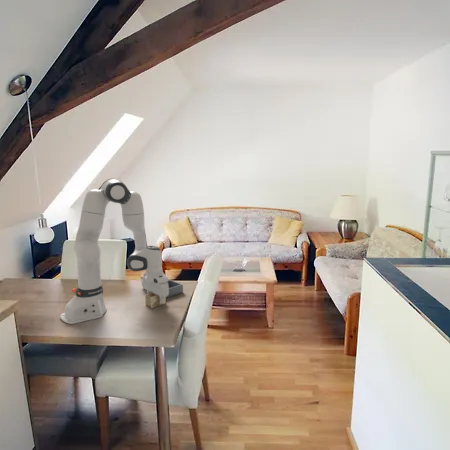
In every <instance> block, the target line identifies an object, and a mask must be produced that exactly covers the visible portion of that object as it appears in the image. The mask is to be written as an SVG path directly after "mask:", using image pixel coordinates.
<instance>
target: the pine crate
mask: <svg viewBox="0 0 450 450" xmlns="http://www.w3.org/2000/svg"><path fill="white" fill-rule="evenodd" d="M144 298H145V299H144V301H145V306H146V307H149V308H151V309H153V308H157V307H160V306H162V305H166V304H167V301H166V300H167V298H166V297H164V298H163V303H159V301H158V300H159V299H160V297H159V296H158V295H156V294H154V293H146V294H144Z"/></svg>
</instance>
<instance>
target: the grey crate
mask: <svg viewBox="0 0 450 450" xmlns="http://www.w3.org/2000/svg"><path fill="white" fill-rule="evenodd" d="M167 282H168V285H169V295H168V296H166V299H169V298H172V297H174V296H178V295H181V294H183V293H184V285H183V284H182V283H180V282H177V281H175V280H172V279H168V281H167ZM151 293H152V292H151Z"/></svg>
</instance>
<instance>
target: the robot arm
mask: <svg viewBox="0 0 450 450" xmlns="http://www.w3.org/2000/svg"><path fill="white" fill-rule="evenodd" d="M109 202H112V203H115V204H119V205H120V206H121V215H122V217H121V218H122V222H123V225H124V227H125V228H126V229H127V230H130V231H131V232H132V234H133V235H132V236H133V240H134V245H135V247H134V251H133V252H132V253H131V254H130V255H129V256H128V258H127V259H126V266H127V268H128V269H129V270H130V271H132V272H142V271H145V272H144V273H143V274H144V275H143V276H144V277H143V280H142V284H141V286H142V289H143V290H145V291H146V294H148V293H151V292H152V293H154V294H156V295H158V296H159V297H160V299H159V300H158V301H159V303H163V298H164V297H166V296H168V295H169V285H168V282H167V281H168V280H169V277H168V276H167V275H166V274H165V273H164V272H163V267H162V265H163V258H162V251H161V248H159V247H158V246H157V245H148V243H147V236H146V228H145V227H146V226H145V211H144V204H143V200H142V196H141V194H140V193H139V192H137V191H130V189H129V188H128V187H127V185H126V184H125V183H123V181H122V180H120V179H118V178H117V179H116V178H108V179H106V180H105V181H104V182H103V183H102V184H101V186H100V187H99V188H98V189H90V190H88V191H87V192H86V194H85V197H84V199H83V203H82V208H81V214H80V217H79V218H80V219H79V226H78V229H77V232H76V235H75V241H74V245H73V249H74V252H75V255H76V260H77V283H78V287H77V288H71V292H72V293H74V294H75V295H74V296H73V297H72V298H71V299H70V300H69V301H68V302H67V303H66V304H65V306H64V307H65V308H64V312H63V313H61V314H60V316H59V317H60V319H61V321H62V322H64V323H66V324H69V325H74V324H78V323H82V322H88V321H91V320H95V319H100V318H102V317H103V316H104V314H105V313H106V312H107V311H108V309H107V307H106V303H105V301H104V295H103V294H104V288H103V284H102V278H101V277H102V276H101V262H102V261H101V259H102V258H101V257H102V256H101V248H100V246H99V239H100V235H101V233H102V230H103V225H104V221H105V215H106V209H107V205H108V204H109Z"/></svg>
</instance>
